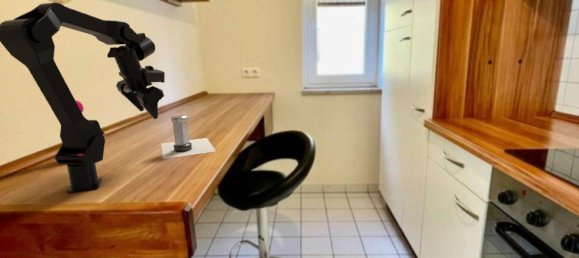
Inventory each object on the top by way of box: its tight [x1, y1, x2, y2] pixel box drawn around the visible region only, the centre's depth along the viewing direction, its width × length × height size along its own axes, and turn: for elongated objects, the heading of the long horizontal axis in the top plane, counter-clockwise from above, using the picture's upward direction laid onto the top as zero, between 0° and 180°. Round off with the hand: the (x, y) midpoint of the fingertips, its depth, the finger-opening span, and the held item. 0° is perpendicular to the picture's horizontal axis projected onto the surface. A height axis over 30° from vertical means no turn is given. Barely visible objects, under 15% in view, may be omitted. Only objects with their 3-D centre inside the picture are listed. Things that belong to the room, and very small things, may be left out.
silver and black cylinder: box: [170, 114, 192, 152], centre depth 108 cm, size 6×6×11 cm
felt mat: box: [160, 137, 217, 160], centre depth 112 cm, size 20×16×1 cm
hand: (149, 114), depth 103 cm, fingers open, 9 cm apart
